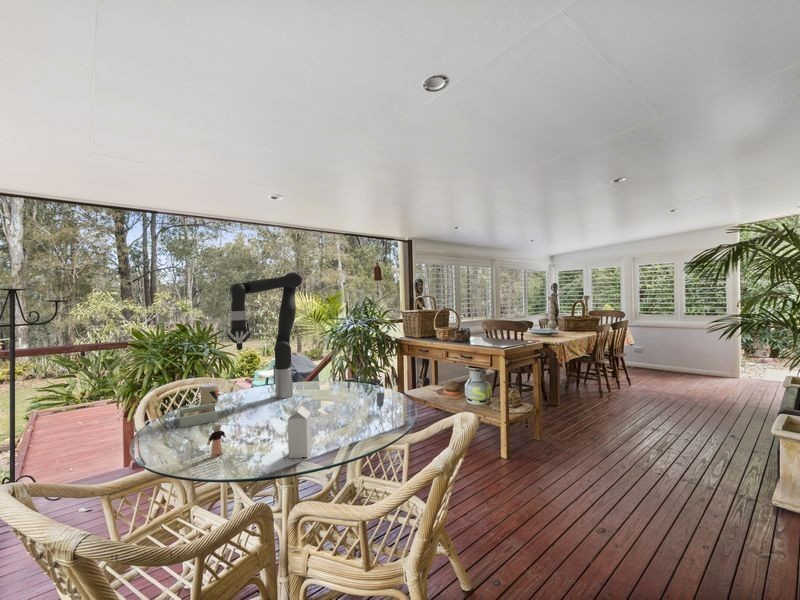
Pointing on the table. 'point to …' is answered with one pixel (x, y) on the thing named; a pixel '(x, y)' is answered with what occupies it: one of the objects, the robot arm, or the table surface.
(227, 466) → the table surface
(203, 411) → the walnut tile
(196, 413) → the oak tile
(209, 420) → the grey-green tray
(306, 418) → the milk carton
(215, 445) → the grandmother figurine
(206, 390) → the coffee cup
